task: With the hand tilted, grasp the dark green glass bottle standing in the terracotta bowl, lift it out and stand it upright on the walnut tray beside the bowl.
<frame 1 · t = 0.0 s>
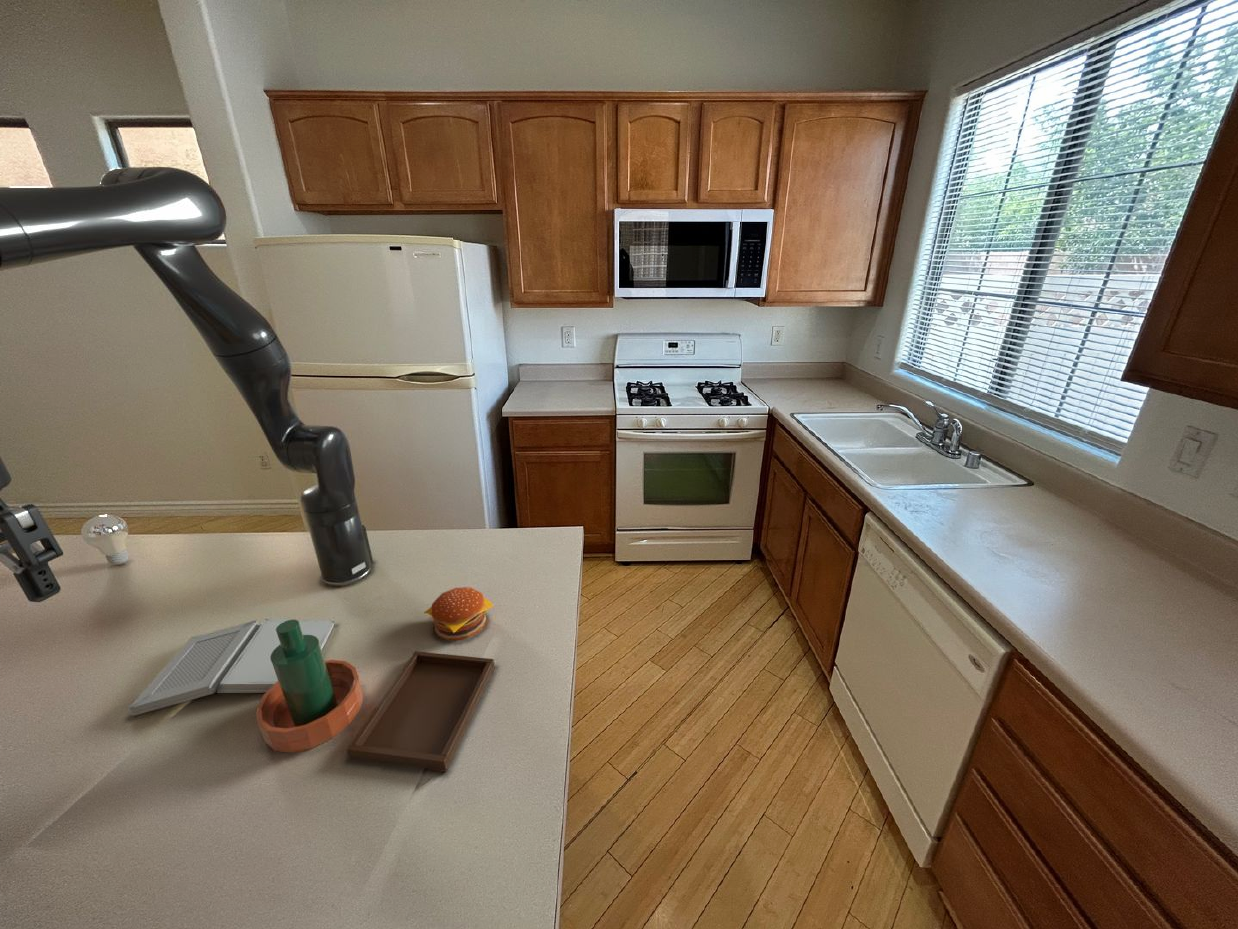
hand: (11, 594, 49), 29 cm above the counter, tool pointing down, fingers open, 8 cm apart
hamburger: (461, 625, 88), on the counter
bowl: (316, 715, 70), on the counter
bottle: (315, 712, 69), point 1 cm above the counter, touching bowl
tray: (429, 709, 71), on the counter
gadget: (246, 667, 78), on the counter
light bulb: (121, 565, 105), on the counter
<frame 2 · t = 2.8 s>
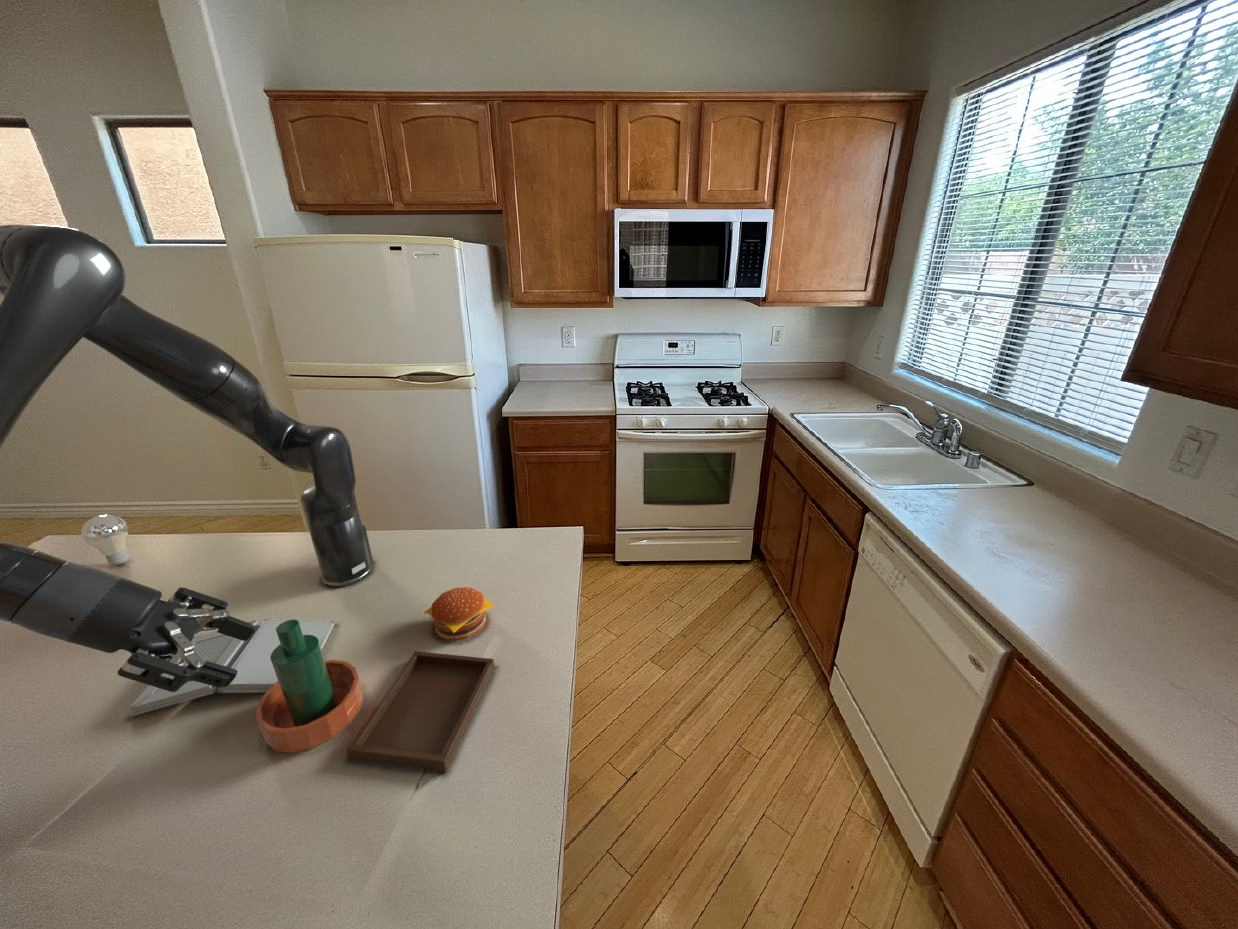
hand: (242, 655, 62), 14 cm above the counter, tool tilted 45°, fingers open, 8 cm apart
nothing on the counter moved.
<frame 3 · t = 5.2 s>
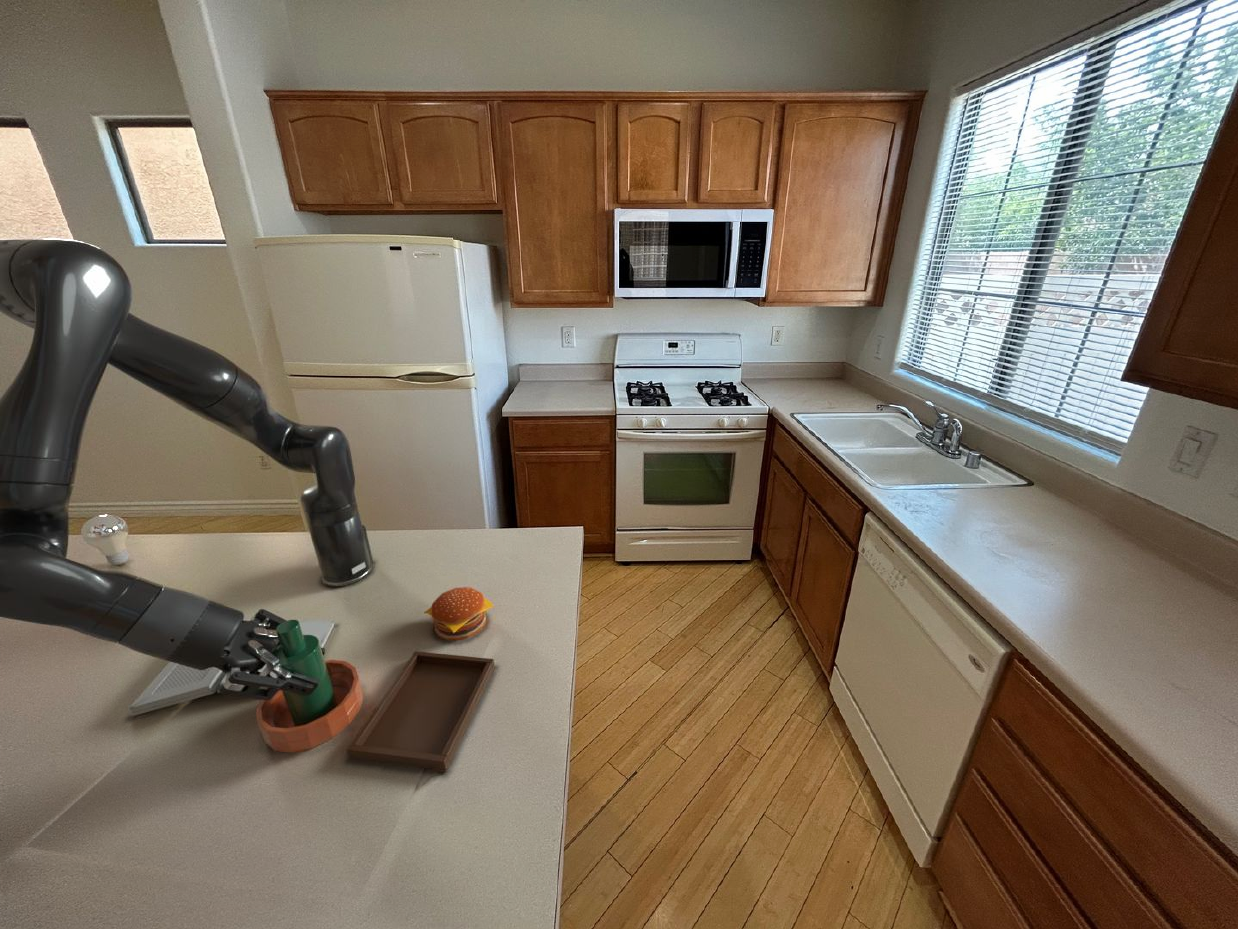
hand: (317, 671, 67), 8 cm above the counter, tool tilted 45°, fingers closed on bottle, 5 cm apart
bottle: (315, 712, 69), point 1 cm above the counter, touching bowl, gripper
everything else where it was.
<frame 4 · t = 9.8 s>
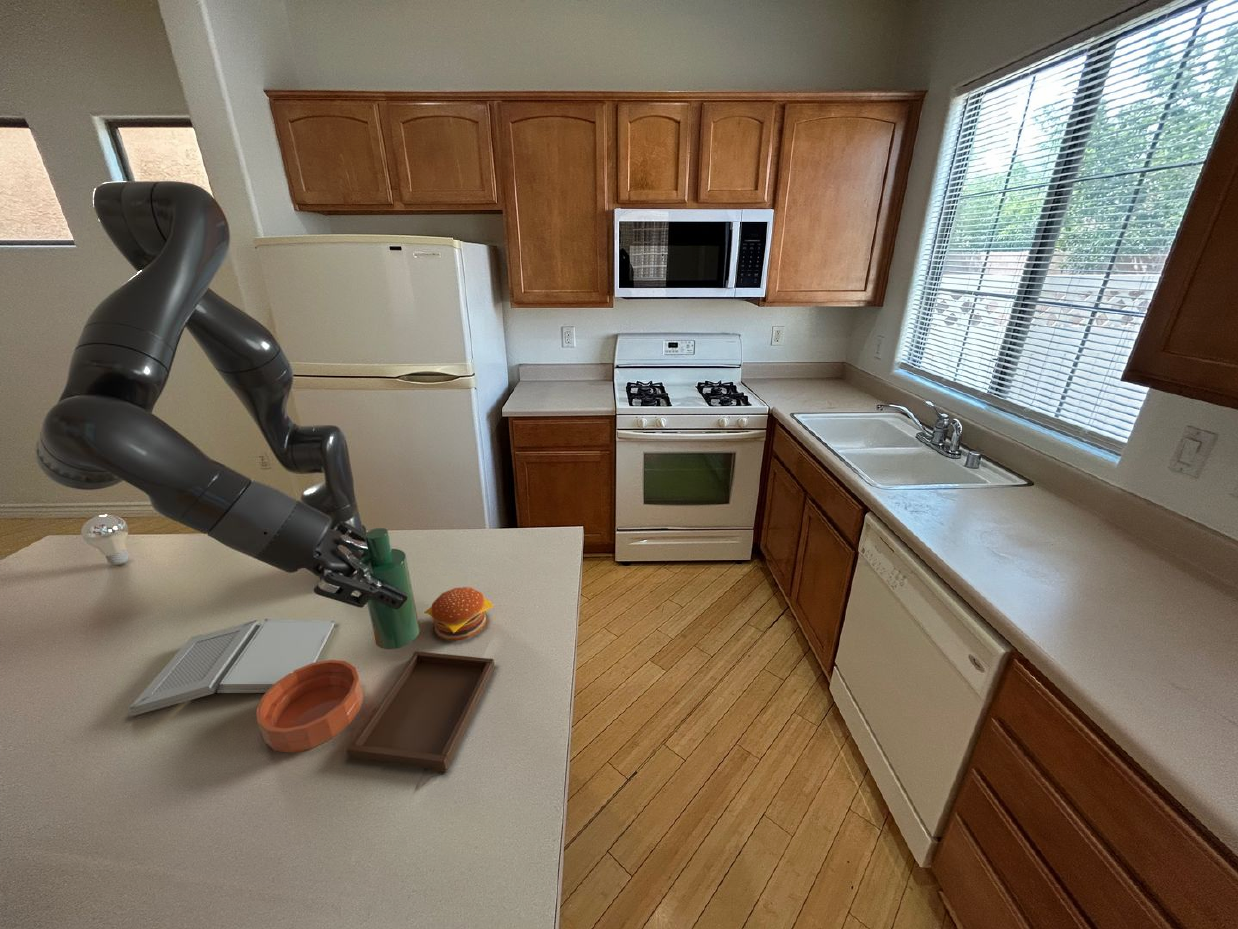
hand: (403, 587, 63), 22 cm above the counter, tool tilted 45°, fingers closed on bottle, 5 cm apart
bottle: (397, 634, 65), point 15 cm above the counter, touching gripper
everything else where it was.
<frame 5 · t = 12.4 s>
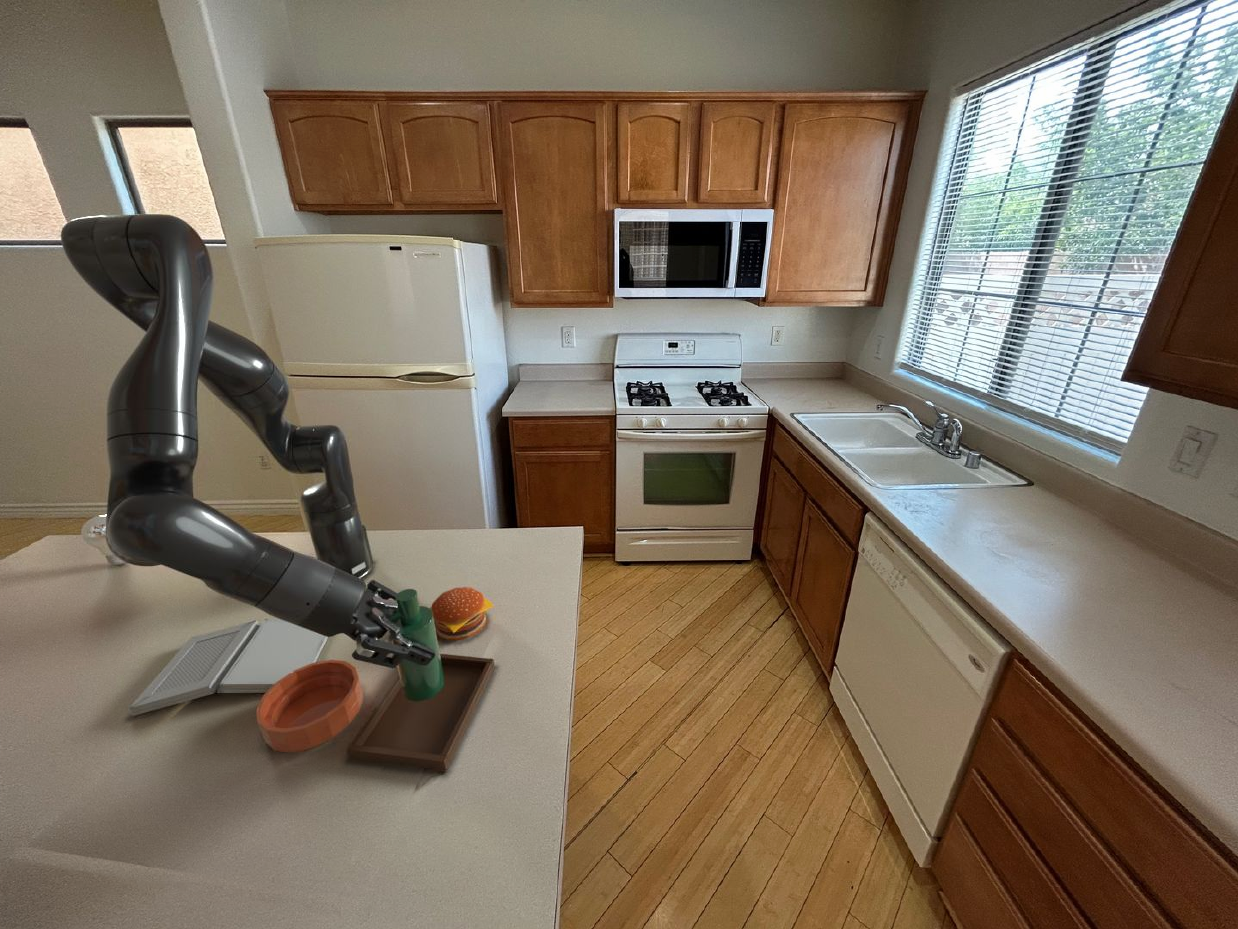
hand: (429, 642, 67), 12 cm above the counter, tool tilted 45°, fingers closed on bottle, 5 cm apart
bottle: (424, 685, 69), point 5 cm above the counter, touching gripper
everything else where it was.
when the fingers open (8 cm above the counter, at t = 14.2 s): bottle stays where it is, resting on tray.
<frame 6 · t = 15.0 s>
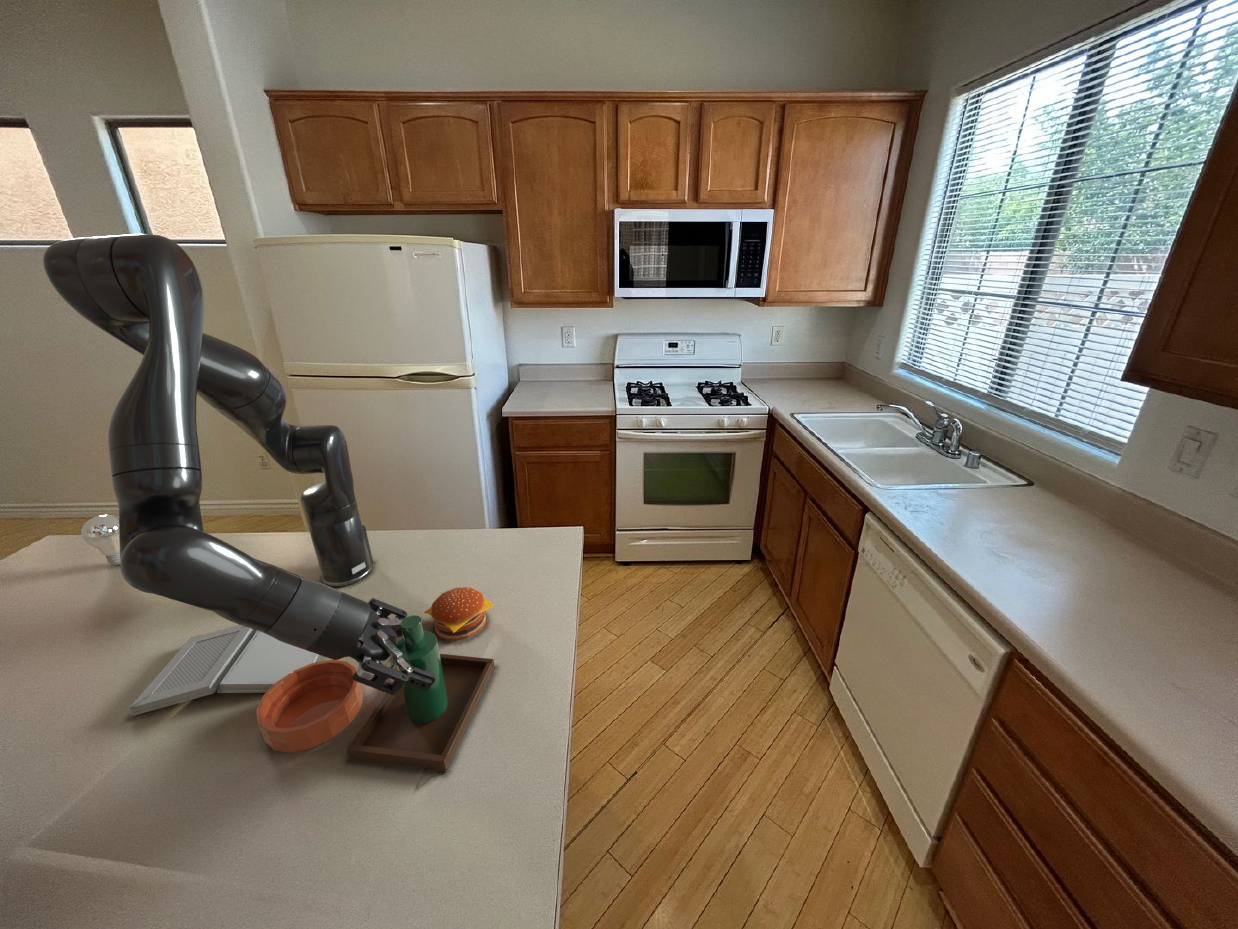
hand: (430, 661, 68), 9 cm above the counter, tool tilted 45°, fingers open, 8 cm apart
bottle: (428, 707, 70), point 1 cm above the counter, touching tray
everything else where it was.
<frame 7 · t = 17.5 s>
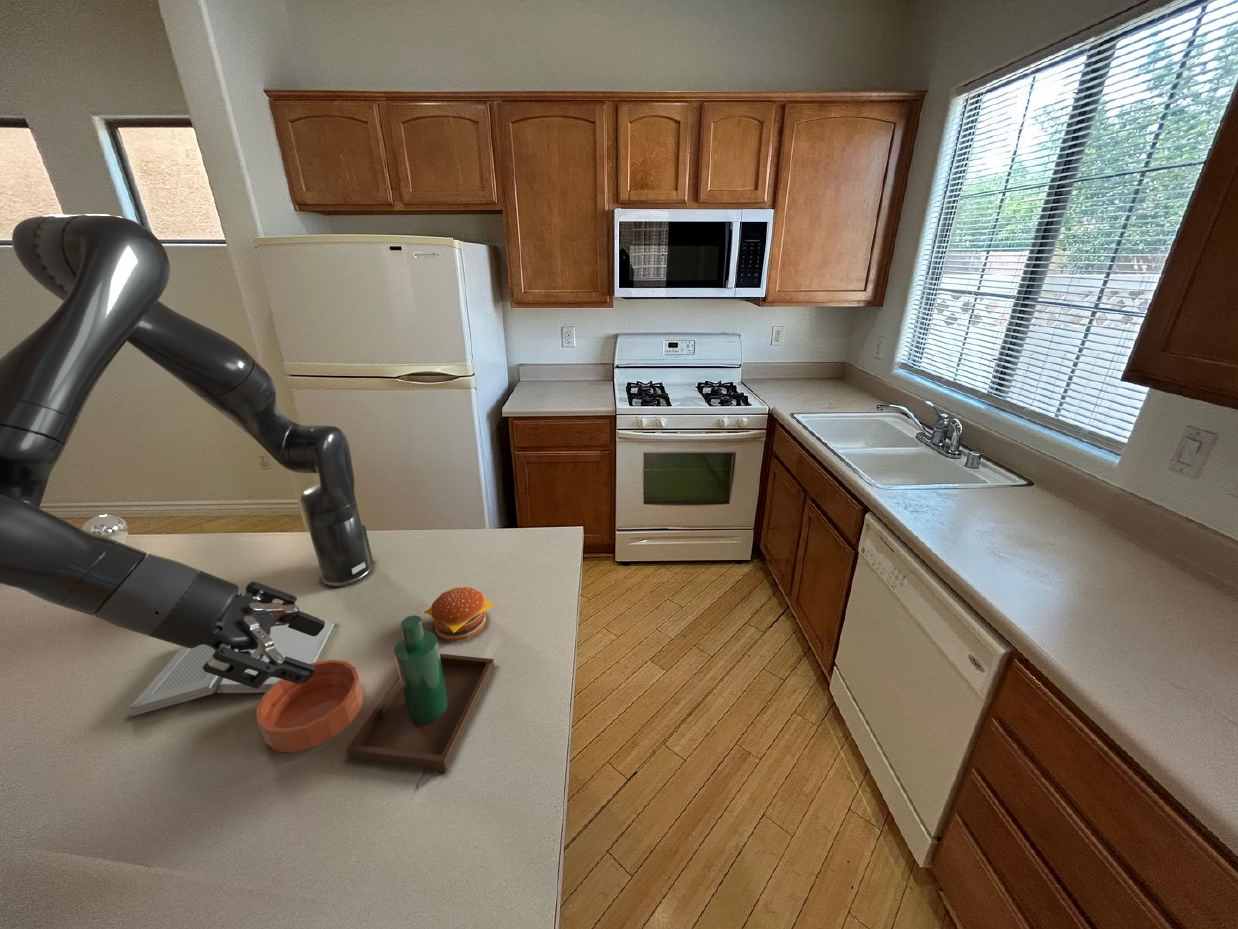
hand: (316, 651, 61), 16 cm above the counter, tool tilted 45°, fingers open, 8 cm apart
nothing on the counter moved.
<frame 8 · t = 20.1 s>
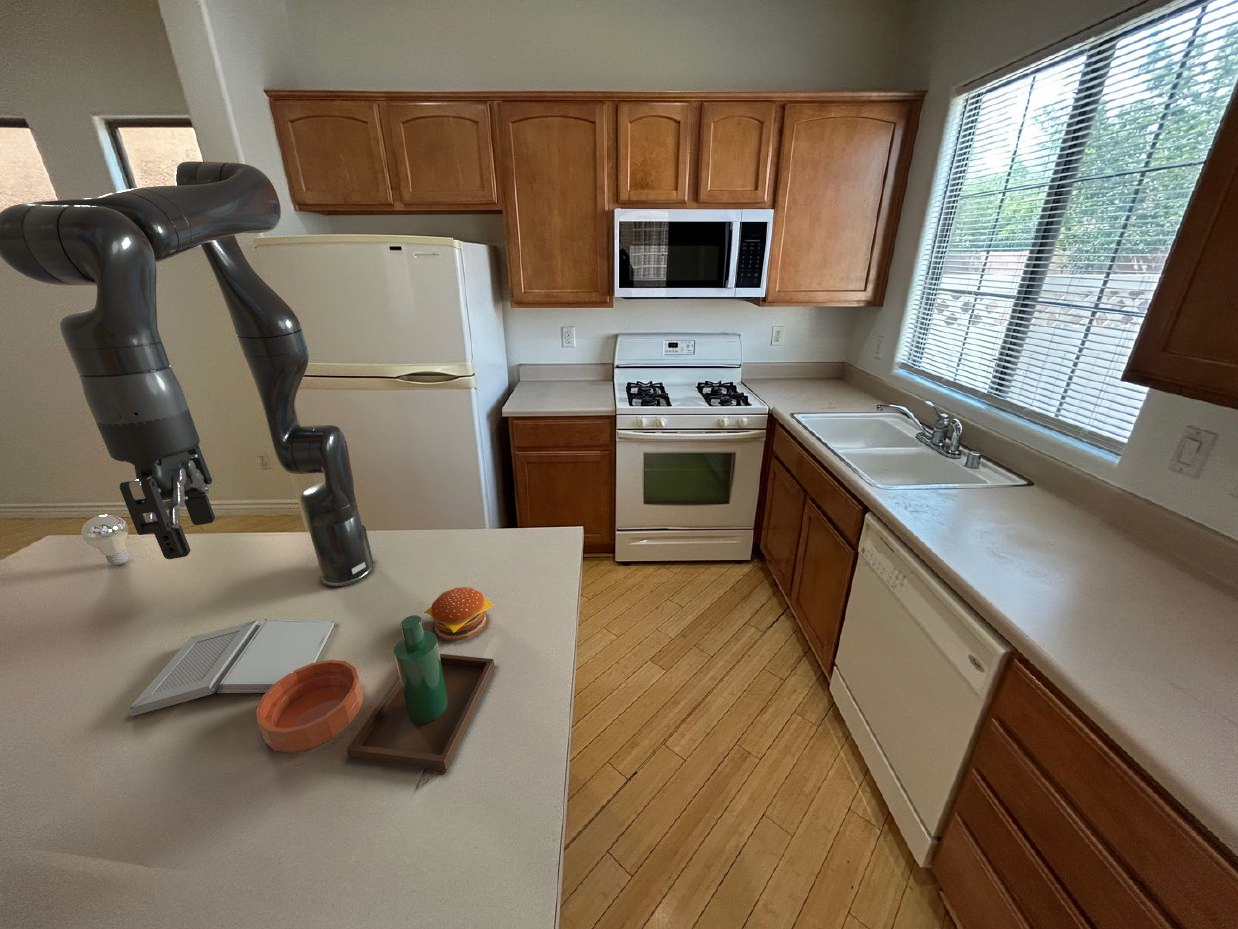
hand: (192, 538, 58), 30 cm above the counter, tool pointing down, fingers open, 8 cm apart
nothing on the counter moved.
at the end: bottle inside the target area in the tray (0.1 cm from its centre), point 0.6 cm above the tray's base; bottle tilted 0°; the gripper is holding nothing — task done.
